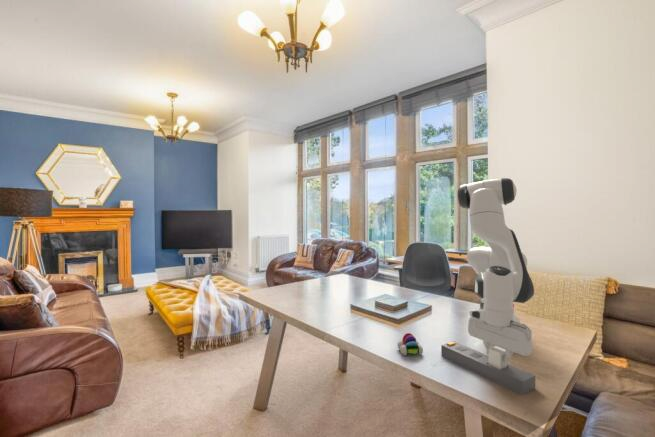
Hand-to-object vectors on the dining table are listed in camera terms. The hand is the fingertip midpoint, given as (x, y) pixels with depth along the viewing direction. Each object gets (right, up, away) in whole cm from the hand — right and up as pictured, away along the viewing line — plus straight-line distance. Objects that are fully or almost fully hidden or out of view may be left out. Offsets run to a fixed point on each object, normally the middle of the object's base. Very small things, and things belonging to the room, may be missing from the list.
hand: (497, 358), depth 106 cm
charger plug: (0, -6, 0) cm, 6 cm away
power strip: (-3, -7, +4) cm, 9 cm away
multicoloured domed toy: (-24, -7, +21) cm, 32 cm away
